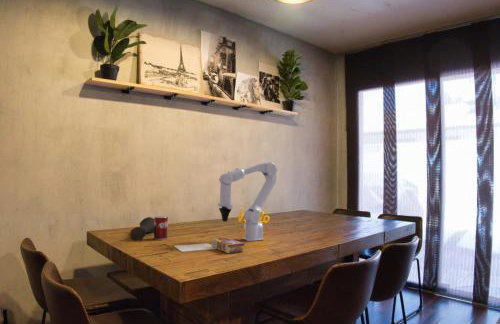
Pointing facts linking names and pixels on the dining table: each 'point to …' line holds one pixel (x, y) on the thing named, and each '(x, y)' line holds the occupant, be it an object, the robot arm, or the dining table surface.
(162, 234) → the soda can
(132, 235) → the dark grey dumbbell
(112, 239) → the dining table surface
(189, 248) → the mat
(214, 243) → the candy box
